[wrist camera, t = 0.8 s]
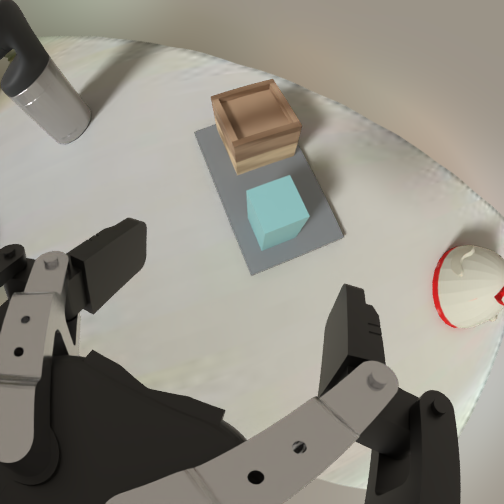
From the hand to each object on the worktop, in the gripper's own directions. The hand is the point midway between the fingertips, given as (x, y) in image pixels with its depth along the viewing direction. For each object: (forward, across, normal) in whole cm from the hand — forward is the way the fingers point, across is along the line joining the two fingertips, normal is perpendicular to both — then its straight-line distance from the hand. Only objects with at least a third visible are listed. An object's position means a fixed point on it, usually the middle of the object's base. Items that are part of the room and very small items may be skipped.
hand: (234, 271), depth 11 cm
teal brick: (+27, +2, +10) cm, 29 cm away
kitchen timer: (+31, -32, +11) cm, 46 cm away
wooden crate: (+34, +8, 0) cm, 35 cm away
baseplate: (+32, +5, +5) cm, 33 cm away
